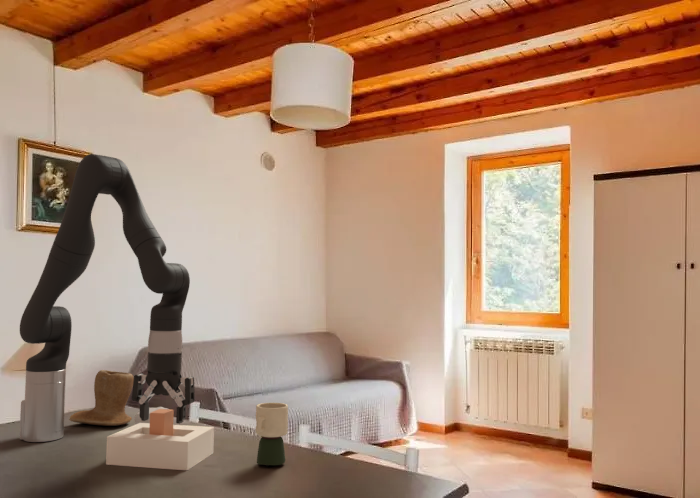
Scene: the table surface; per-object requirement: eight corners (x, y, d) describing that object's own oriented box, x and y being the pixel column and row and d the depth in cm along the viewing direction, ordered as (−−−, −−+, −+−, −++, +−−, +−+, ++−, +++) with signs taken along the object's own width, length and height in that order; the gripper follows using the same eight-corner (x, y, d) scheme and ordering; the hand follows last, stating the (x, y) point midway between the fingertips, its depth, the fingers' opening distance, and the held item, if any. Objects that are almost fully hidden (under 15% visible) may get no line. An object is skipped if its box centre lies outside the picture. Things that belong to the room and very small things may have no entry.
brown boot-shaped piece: (141, 421, 178) (143, 368, 179) (114, 430, 167) (116, 374, 168) (96, 417, 183) (98, 366, 183) (67, 426, 171) (69, 371, 172)
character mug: (270, 456, 144) (272, 399, 145) (297, 460, 141) (298, 402, 142) (243, 469, 134) (244, 407, 135) (270, 473, 131) (272, 411, 132)
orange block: (148, 458, 140) (150, 412, 140) (158, 452, 144) (159, 408, 145) (163, 459, 139) (164, 413, 140) (172, 453, 143) (173, 409, 144)
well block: (106, 464, 136) (107, 436, 137) (139, 447, 150) (139, 422, 150) (187, 470, 133) (188, 441, 133) (213, 452, 147) (214, 427, 147)
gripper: (127, 350, 140) (124, 423, 140) (187, 353, 138) (184, 427, 137) (144, 346, 148) (141, 416, 147) (201, 349, 145) (198, 420, 145)
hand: (162, 421), depth 142 cm, fingers open, 8 cm apart
